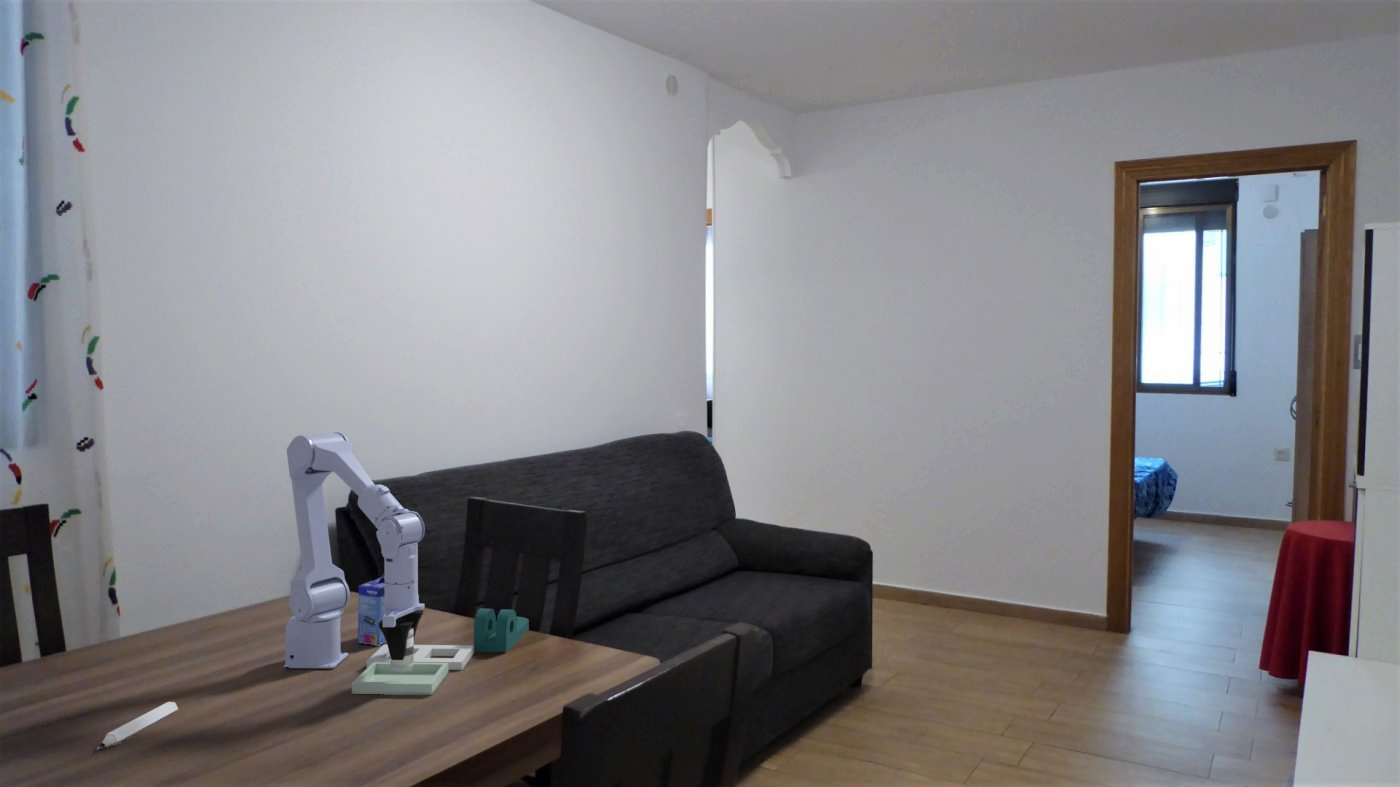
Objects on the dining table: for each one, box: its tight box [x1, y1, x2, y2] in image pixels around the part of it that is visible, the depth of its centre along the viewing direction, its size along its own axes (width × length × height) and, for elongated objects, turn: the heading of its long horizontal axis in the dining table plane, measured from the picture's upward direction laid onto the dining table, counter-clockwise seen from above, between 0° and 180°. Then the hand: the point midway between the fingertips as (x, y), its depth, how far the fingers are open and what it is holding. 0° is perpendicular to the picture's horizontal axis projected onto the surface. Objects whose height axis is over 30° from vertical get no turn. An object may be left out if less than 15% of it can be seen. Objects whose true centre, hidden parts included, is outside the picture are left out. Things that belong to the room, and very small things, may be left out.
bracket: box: [473, 607, 530, 653], centre depth 198 cm, size 18×7×8 cm, turn 173°
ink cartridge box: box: [357, 571, 386, 647], centre depth 196 cm, size 10×6×14 cm, turn 163°
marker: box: [96, 701, 179, 750], centre depth 149 cm, size 3×2×16 cm
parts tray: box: [351, 662, 449, 696], centre depth 171 cm, size 14×11×2 cm
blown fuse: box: [390, 628, 415, 672], centre depth 171 cm, size 4×4×7 cm
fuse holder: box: [365, 644, 475, 671], centre depth 183 cm, size 18×10×2 cm, turn 90°
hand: (401, 655), depth 171 cm, fingers closed on blown fuse, 4 cm apart
